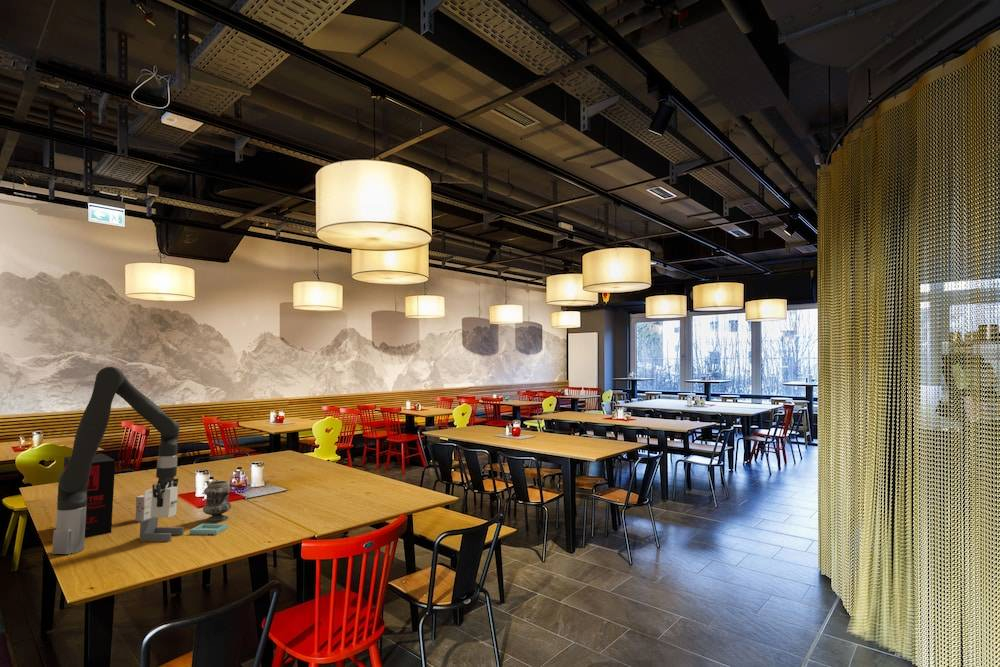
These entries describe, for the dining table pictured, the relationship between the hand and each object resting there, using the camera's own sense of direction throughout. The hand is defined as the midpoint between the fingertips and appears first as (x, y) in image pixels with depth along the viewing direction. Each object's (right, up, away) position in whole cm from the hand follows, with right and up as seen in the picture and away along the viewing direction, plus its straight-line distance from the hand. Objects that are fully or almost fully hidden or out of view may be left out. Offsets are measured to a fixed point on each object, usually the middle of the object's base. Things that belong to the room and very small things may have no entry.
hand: (164, 505), depth 225 cm
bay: (0, -14, -1) cm, 14 cm away
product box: (-42, -14, +9) cm, 45 cm away
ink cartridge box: (-25, -16, +26) cm, 39 cm away
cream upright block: (0, -4, 0) cm, 4 cm away
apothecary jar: (+9, -16, +26) cm, 32 cm away
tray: (+15, -15, +8) cm, 23 cm away
